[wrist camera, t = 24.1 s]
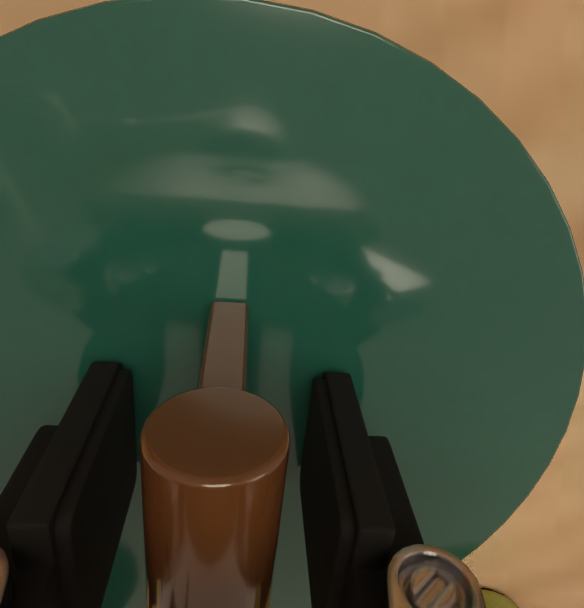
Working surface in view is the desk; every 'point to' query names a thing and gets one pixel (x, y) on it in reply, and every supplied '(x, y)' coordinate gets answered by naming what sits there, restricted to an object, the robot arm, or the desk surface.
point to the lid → (274, 278)
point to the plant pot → (497, 600)
